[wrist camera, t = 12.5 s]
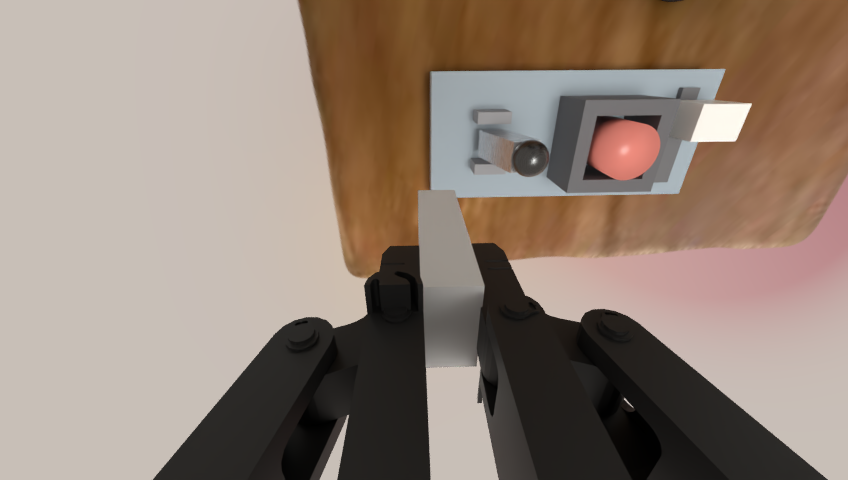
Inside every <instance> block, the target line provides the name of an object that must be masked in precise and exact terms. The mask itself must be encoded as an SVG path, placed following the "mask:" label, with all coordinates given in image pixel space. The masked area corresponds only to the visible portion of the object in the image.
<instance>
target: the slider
mask: <svg viewBox="0 0 848 480" xmlns="http://www.w3.org/2000/svg"><path fill="white" fill-rule="evenodd" d="M750 107H751V103H741V102H731V101H721V100H681V102H680V105H679V108H678V111H677V114H676V117H675V120H674V123H673V126H672V129H671V132H670V135H669V137H673V138H677V139H681V140H685V141H689V142H716V141H736V139H737V137H738V135H739V132H740V130H741V128H742V125H743V123H744V121H745V118H746V116H747V114H748V111H749V109H750Z"/></svg>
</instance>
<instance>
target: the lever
mask: <svg viewBox="0 0 848 480" xmlns="http://www.w3.org/2000/svg"><path fill="white" fill-rule="evenodd" d="M478 157H480V158H482V159H484V160H486V161H488V162H490V163H492V164H494V165H495V166H497V167H499V168H501V169H503V170H505V171H507V172H509V173H518V174H519V175H521V176H524V177H534V176H537V175H539V174H540V173H542V172H543V171H544V170H545V168H546V167H547V165H548V163H549V151H548V149H547V147H546V146H545V145H544V144H543V143H542V142H541V140H539V139H535V138H532V137H529V136H525V135H522V134H519V133H516V132H512V131H509V130H506V129H489V130H480V131H479V145H478Z"/></svg>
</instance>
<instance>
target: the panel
mask: <svg viewBox="0 0 848 480" xmlns="http://www.w3.org/2000/svg"><path fill="white" fill-rule="evenodd" d="M724 72H725V69H664V70H540V71H430V190H454V191H455V194H456V197H457V198H463V197H519V196H575V195H630V194H679V191H680V188H681V186H682V183H683V180H684V178H685V175H686V172H687V170H688V167H689V164H690V162H691V159H692V157H693V154H694V151H695V149H696V146H697V143H698V142H689V141H685V140H681V139H677V138H673V137H669V135H670V132H671V129H672V126H673V123H674V120H675V117H676V114H677V111H678V108H679V105H680V102H681V100H714V98H715V96H716V93H717V90H718V88H719V85H720V82H721V80H722V77H723V74H724ZM597 116H613V117H617V118H622V119H626V120H630V121H635V122H639V123H643V124H647V125H650V126H652V127H653V128H654V129H655V130H656V131H657V132H658V134H659V137H660V150H659V153H658V156H657V158H656V160H655V161H654V163H653V164H652V166H651V167H650V168H649V169H648V170H647V171H646V172H644V173H643V174H641V175H640V176H638V177H636V178H633V179H630V180H616V179H614V178H612V177H610V176H608V175H606V174H604V173H602V172H601V171H599V170H597V169H595V168H593V167H591V166H589V165H588V164H586V163H587V158H588V154H589V150H590V145H591V141H592V136H593V132H594V128H595V123H596V119H597ZM489 129H506V130H509V131H512V132H516V133H519V134H522V135H525V136H529V137H532V138H535V139H539V140H541V142H542V143H543V144H544V145H545V146H546V147H547V149H548V151H549V163H548V165H547V167H546V168H545V170H544V171H543V172H542V173H540V174H539V175H537V176H534V177H524V176H521V175H519V174H518V173H509V172H507V171H505V170H503V169H501V168H499V167H497V166H495V165H494V164H492V163H490V162H488V161H486V160H484V159H482V158H480V157H478V145H479V131H480V130H489Z"/></svg>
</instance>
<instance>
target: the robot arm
mask: <svg viewBox="0 0 848 480" xmlns="http://www.w3.org/2000/svg"><path fill="white" fill-rule="evenodd" d="M418 225H419V246H390V247H389V248H388V249H387V250H386V251H385V252H384V253H383V254H382V260H381V266H380V272H377V273H375V274H373V275H372V276H371V277H369V278H368V279H367V281H366V283H365V285H364V288H365V296H366V305H367V313H368V314H367V315H366V316H365V317H364V318H362V319H360V320H358V321H357V322H354V323H351V324H348V325H345V326H341V327H337V328H333V327H332V325H331V324H330V323H329V322H328V321H327V320H323V319H321V318H318V317H315V318H314V317H308V318H307V317H306V318H303V319H298V320H295V321H293V322H291V323H289V324H287V325H285V326H283V327H282V328H281V329H280V330H279V331H278V332H277V333H275V335H274V336H273V337H272V338H271V339H270V341H269V342H268V343H267V344H266V345H265V347H264V348H263V349H262V350H261V351H260V352H259V354H258V355H257V356H256V357H255V358H254V360H253V361H252V362H251V363H250V364H249V366H248V367H247V368H246V369H245V371H244V372H243V373H242V374H241V375H240V376H239V378H238V379H237V380H236V381H235V382H234V383H233V385H232V386H231V387H230V388H229V390H228V391H227V392H226V393H225V395H223V397H222V398H221V399H220V400H219V402H218V403H217V404H216V405H215V406H214V407H213V409H212V410H211V411H210V412H209V413H208V414H207V416H206V417H205V418H204V419H203V420H202V422H201V423H200V424H199V425H198V427H197V428H196V429H195V430H194V431H193V432H192V434H191V435H190V436H189V437H188V438H187V440H186V441H185V442H184V443H183V444H182V445H181V447H180V448H179V449H178V450H177V452H176V453H175V454H174V455H173V456H172V458H171V459H170V460H169V461H168V462H167V463H166V465H165V466H164V467H163V468H162V470H161V471H160V472H159V473H158V474H157V475H156V477H155V478H154V479H153V480H319V479H320V477H321V475H322V472H323V470H324V468H325V466H326V463H327V461H328V459H329V457H330V454H331V452H332V450H333V448H334V445H335V443H336V441H337V438H338V436H339V434H340V432H341V429H342V427H343V425H344V423H345V420H346V417H347V415H349V418H348V424H347V429H346V435H345V440H344V446H343V452H342V457H341V463H340V468H339V474H338V479H337V480H430V457H429V432H428V410H427V409H428V408H427V386H426V385H427V384H426V368H430V367H464V366H465V367H467V366H476V365H477V356H478V357H479V361H480V367H481V371H480V380H479V388H478V403H482V398H483V403H484V408H485V413H486V418H487V423H488V428H489V433H490V438H491V443H492V448H493V453H494V457H495V463H496V468H497V473H498V478H499V480H828V479H826V478H825V477H824V476H823V475H821V474H820V473H819V472H818V471H816V470H815V469H814V468H813V467H812V466H810V465H809V464H808V463H807V462H806V461H805V460H803V459H802V458H801V457H800V456H798V455H797V454H796V453H795V452H793V451H792V450H791V449H790V448H789V447H788V446H786V445H785V444H784V443H783V442H782V441H780V440H779V439H778V438H777V437H775V436H774V435H773V434H772V433H771V432H769V431H768V430H767V429H766V428H765V427H763V426H762V425H761V424H760V423H759V422H757V421H756V420H755V419H754V418H752V417H751V416H750V415H749V414H748V413H746V412H745V411H744V410H743V409H742V408H740V407H739V406H738V405H737V404H736V403H734V402H733V401H732V400H731V399H729V398H728V397H727V396H726V395H725V394H723V393H722V392H721V391H720V390H719V389H717V388H716V387H715V386H714V385H713V384H711V383H710V382H709V381H708V380H707V379H705V378H704V377H703V376H702V375H700V374H699V373H698V372H697V371H696V370H694V369H693V368H692V367H691V366H689V365H688V364H687V363H686V362H685V361H683V360H682V359H681V358H680V357H678V356H677V355H676V354H675V353H674V352H673V351H671V350H670V349H669V348H668V347H666V346H665V345H664V344H663V343H661V341H659V340H658V339H657V338H656V337H655V336H653V335H652V334H651V333H650V332H648V331H647V330H646V329H645V328H644V327H642V326H641V325H640V324H639V323H637V322H636V321H634V320H633V319H631V318H630V317H628V316H626V315H623V314H621V313H618V312H616V311H611V310H605V309H597V310H596V309H595V310H591V311H589V312H586V313H585V314H584V316H583V317H582V319H581V322H575V321H570V320H565V319H560V318H556V317H552V316H549V315H547V314H545V311H544V310H543V308H542V307H541V306H540V305H539V303H538V302H536V301H535V300H533V299H532V298H530V297H528V296H525V294H524V292H523V290H522V288H521V286H520V284H519V282H518V280H517V278H516V276H515V274H514V271H513V270H512V267H511V265H510V263H509V262H508V259H507V257H506V255H505V252H504V251H503V250H502V249H501V248H499V247H498V246H497V245H496V244H494V243H476V244H471V241H470V238H469V235H468V232H467V229H466V225H465V222H464V219H463V216H462V213H461V210H460V206H459V203H458V200H457V197H456V194H455V191H454V190H418ZM624 398H626V399H627V401H628V402H629V403H630V404H631V405H632V406H633V407H634V408H632V407H631V406H630V405H629V404H628V403H627V402H626V401H625V400H624Z"/></svg>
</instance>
